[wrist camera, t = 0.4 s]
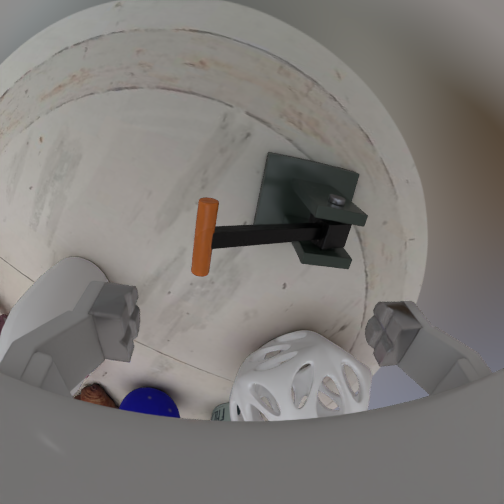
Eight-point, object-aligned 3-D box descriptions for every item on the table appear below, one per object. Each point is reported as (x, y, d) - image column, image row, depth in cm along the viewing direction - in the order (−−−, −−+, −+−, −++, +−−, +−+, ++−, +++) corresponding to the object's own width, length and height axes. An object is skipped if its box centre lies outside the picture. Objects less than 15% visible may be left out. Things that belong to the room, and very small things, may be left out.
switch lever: (185, 263, 19) (198, 283, 18) (193, 194, 17) (207, 207, 15) (321, 248, 26) (339, 261, 24) (337, 198, 24) (357, 208, 22)
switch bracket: (251, 231, 32) (262, 281, 23) (268, 151, 27) (287, 171, 19) (333, 243, 33) (366, 290, 25) (355, 171, 29) (402, 199, 20)
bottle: (130, 271, 33) (56, 471, 10) (110, 327, 37) (61, 488, 14) (56, 233, 29) (-66, 389, 7) (47, 294, 33) (-30, 435, 11)
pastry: (149, 423, 51) (145, 453, 44) (102, 426, 52) (96, 452, 45) (98, 381, 43) (87, 415, 36) (54, 387, 44) (43, 415, 37)
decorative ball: (207, 376, 43) (207, 473, 28) (266, 287, 35) (293, 409, 20) (306, 396, 49) (326, 475, 33) (375, 326, 41) (422, 413, 26)
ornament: (125, 397, 45) (112, 463, 32) (123, 371, 42) (105, 447, 28) (179, 409, 48) (176, 476, 35) (185, 385, 44) (180, 462, 31)
